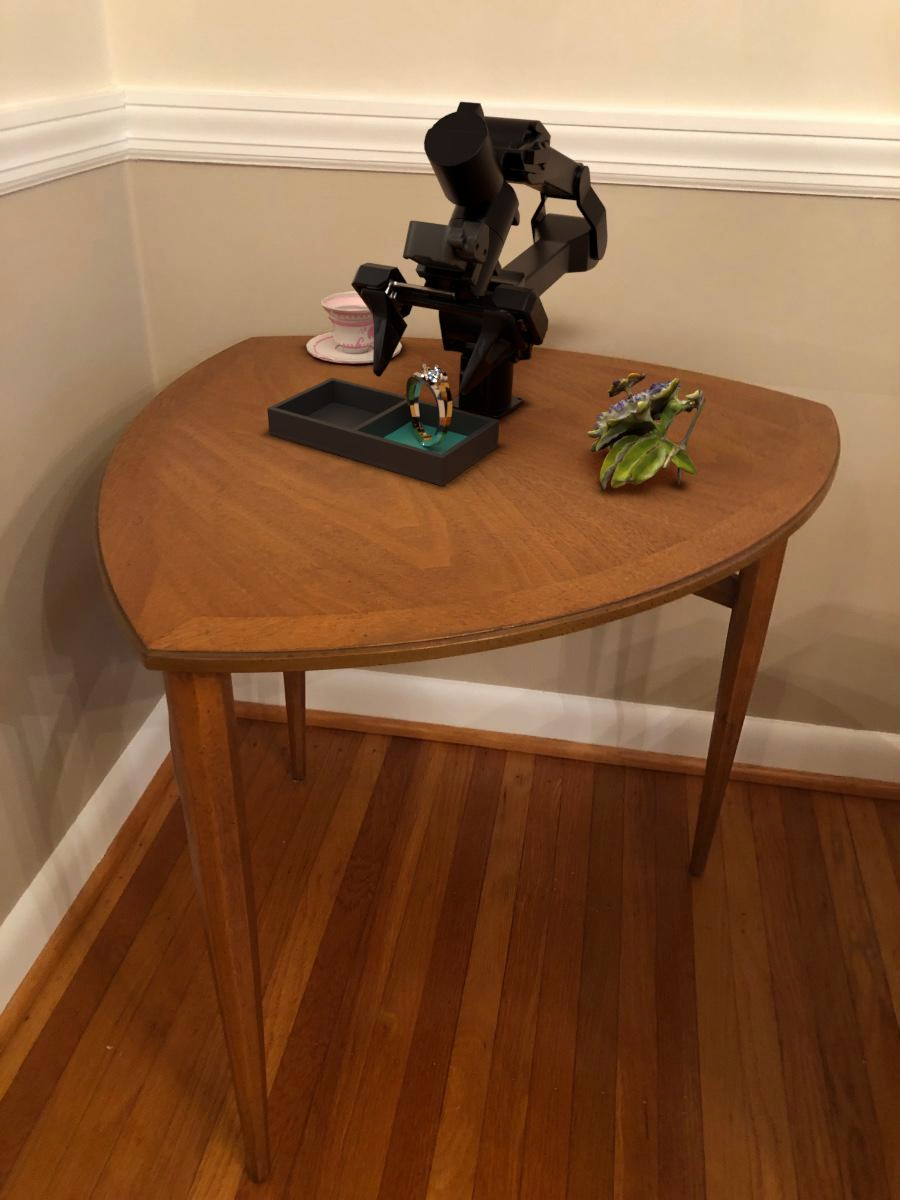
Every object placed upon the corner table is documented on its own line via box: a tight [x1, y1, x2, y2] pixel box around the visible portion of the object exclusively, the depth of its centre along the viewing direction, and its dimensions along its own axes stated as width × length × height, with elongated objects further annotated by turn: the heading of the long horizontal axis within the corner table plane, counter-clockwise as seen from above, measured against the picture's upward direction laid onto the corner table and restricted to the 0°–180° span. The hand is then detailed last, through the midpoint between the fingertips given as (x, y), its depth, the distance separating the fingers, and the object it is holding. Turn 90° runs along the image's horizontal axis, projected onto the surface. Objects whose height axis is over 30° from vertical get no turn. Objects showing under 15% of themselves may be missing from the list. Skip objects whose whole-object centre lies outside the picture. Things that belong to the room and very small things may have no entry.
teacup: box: [305, 290, 403, 365], centre depth 117 cm, size 12×12×6 cm
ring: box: [405, 363, 453, 446], centre depth 91 cm, size 7×3×8 cm, turn 25°
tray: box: [266, 377, 500, 487], centre depth 95 cm, size 11×21×3 cm, turn 59°
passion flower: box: [587, 372, 707, 491], centre depth 88 cm, size 11×11×12 cm
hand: (418, 383), depth 88 cm, fingers open, 9 cm apart
